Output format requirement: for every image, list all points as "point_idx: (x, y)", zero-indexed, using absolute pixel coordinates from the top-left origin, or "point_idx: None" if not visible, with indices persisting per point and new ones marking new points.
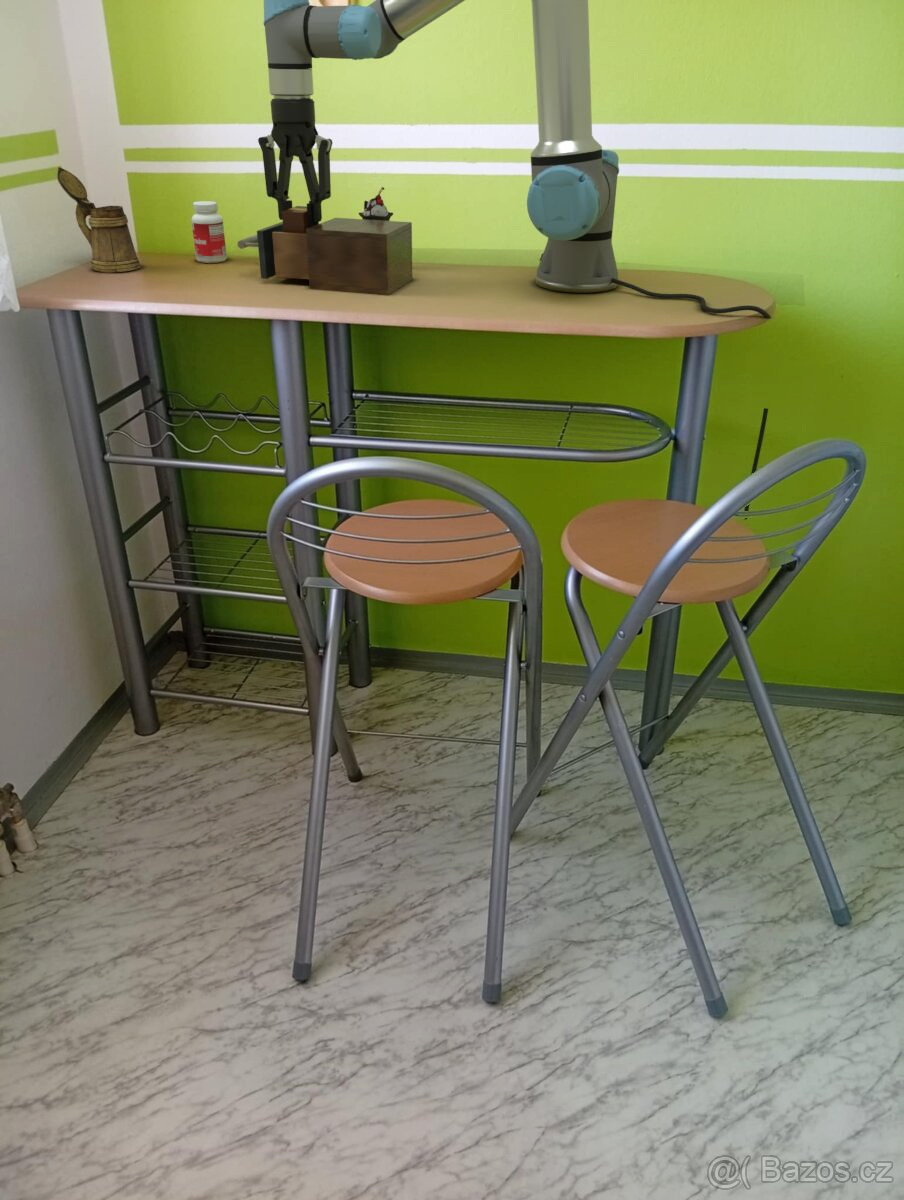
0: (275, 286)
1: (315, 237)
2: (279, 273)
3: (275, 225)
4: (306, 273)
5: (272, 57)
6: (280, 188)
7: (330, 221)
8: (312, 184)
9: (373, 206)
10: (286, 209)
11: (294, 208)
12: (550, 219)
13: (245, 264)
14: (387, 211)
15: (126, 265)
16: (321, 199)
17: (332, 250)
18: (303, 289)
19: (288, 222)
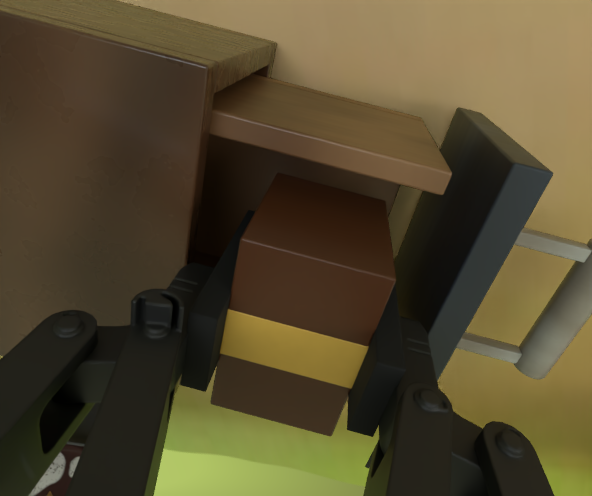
0: (417, 73)
1: (162, 45)
2: (404, 116)
3: (445, 328)
4: (284, 85)
5: None
6: (418, 457)
7: None
8: (97, 414)
9: (44, 491)
10: (373, 336)
11: (329, 368)
12: None
13: (544, 385)
14: None
15: None
16: (89, 316)
17: (94, 16)
18: (298, 29)
19: (354, 236)
